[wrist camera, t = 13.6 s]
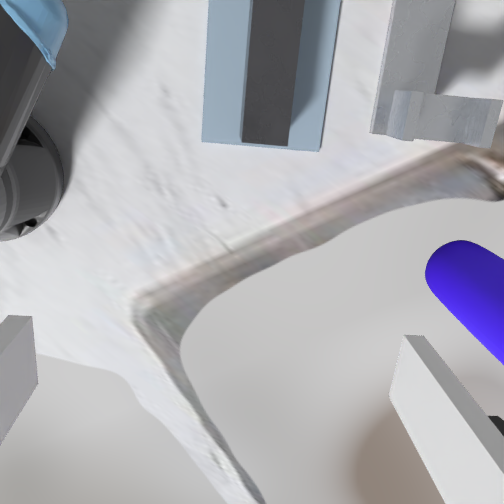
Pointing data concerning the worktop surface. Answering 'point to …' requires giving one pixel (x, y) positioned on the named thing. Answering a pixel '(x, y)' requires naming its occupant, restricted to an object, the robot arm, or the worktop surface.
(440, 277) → the bottle
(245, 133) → the rail
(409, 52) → the standards
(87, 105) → the worktop surface
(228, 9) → the mat
